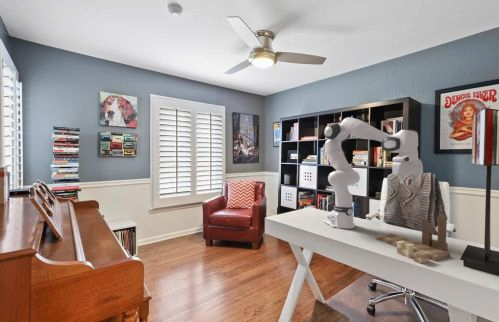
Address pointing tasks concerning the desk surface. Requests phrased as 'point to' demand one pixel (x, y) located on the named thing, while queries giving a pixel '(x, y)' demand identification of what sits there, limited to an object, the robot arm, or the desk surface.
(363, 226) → the desk surface
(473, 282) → the desk surface
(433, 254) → the board
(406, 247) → the gauge block
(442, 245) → the brown wooden upright frame
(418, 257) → the stop block
